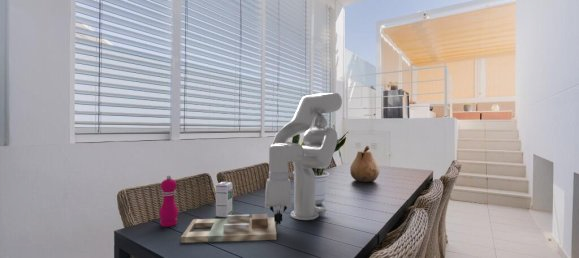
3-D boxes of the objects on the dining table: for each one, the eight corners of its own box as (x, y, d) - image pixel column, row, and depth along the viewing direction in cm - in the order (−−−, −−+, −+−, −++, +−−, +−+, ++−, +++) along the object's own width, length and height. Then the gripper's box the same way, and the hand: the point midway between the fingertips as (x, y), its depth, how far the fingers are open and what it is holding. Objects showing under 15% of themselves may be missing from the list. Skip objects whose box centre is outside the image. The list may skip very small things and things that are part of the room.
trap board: (274, 222, 118) (274, 211, 118) (276, 239, 100) (276, 227, 100) (193, 224, 115) (193, 213, 115) (180, 242, 97) (180, 229, 97)
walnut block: (267, 222, 112) (267, 213, 112) (267, 228, 106) (267, 218, 106) (252, 222, 111) (252, 214, 111) (251, 228, 105) (251, 219, 105)
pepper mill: (162, 221, 118) (163, 173, 118) (180, 220, 119) (180, 173, 118) (156, 227, 111) (156, 176, 111) (175, 227, 112) (175, 176, 111)
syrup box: (227, 217, 124) (227, 184, 123) (215, 216, 125) (215, 183, 124) (232, 213, 129) (233, 182, 129) (221, 212, 130) (221, 181, 130)
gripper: (296, 174, 113) (296, 219, 114) (259, 174, 112) (258, 220, 112) (299, 177, 106) (298, 226, 106) (259, 178, 104) (258, 227, 105)
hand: (278, 223), depth 109 cm, fingers closed
